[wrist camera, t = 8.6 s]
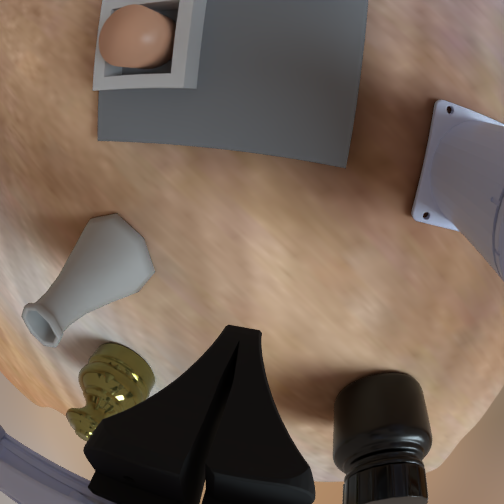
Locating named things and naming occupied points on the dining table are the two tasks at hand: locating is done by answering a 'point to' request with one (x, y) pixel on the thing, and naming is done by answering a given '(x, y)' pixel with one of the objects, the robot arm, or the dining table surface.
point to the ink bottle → (382, 440)
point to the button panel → (242, 78)
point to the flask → (91, 277)
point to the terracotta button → (137, 38)
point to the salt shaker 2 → (110, 386)
